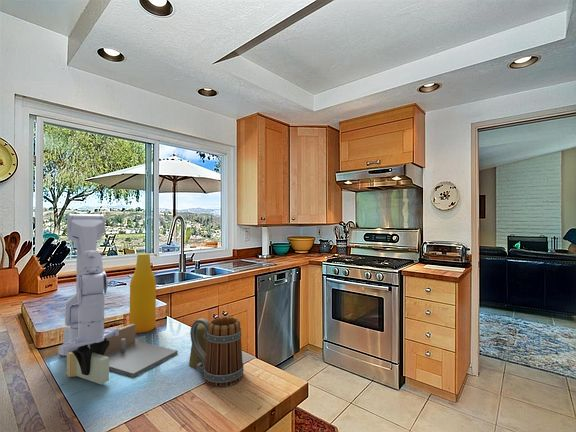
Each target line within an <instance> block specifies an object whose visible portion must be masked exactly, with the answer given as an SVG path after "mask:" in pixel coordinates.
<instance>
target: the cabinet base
mask: <svg viewBox="0 0 576 432" xmlns="http://www.w3.org/2000/svg"><path fill="white" fill-rule="evenodd" d="M135 326H136V324H130V325H129V324H128V325H125V326H122V327H120V328H119V327H118V328H119V335H118V336H112V337H109V338H107V339H106V340H107V341H109V346H108V348H107V349H106V351H105V353H104V356H107V357H109V371H112V372H115V373H118V374H121V375H125V376H128V377H130V378H135V377H137V376H139V375H140V374H143V373H144V372H146V371H148V370H150V369H152V368H153V366H154V367H155V366H158V365H159V364H161V363H163V362H164V361H167V360H168V359H171V358H172V357H174V356H176V355H178V350H177V349H172V348H169V347H164V346H160V345H155V344H152V343H151V344H150V343H147V342H143V341H138V340H136V333H135ZM151 367H152V368H151Z"/></svg>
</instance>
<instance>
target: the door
mask: <svg viewBox="0 0 576 432" xmlns="http://www.w3.org/2000/svg"><path fill="white" fill-rule="evenodd" d="M66 376H67V377H68V378H69V377H70V378H71V377H78V378H82V379H85V380H88V381H90V382H93V383H96V384H99V385H103V384H106V383H108V382H109V381H110V370H109V357H107V356H103V355H100V354H96V353H93V352H92V356H91V361H90V373H89V375H84V374H82V372H81V368H80V365H79V362H78V360H77V358H76V357H75V355H74V354H73V352H72V351H71V352H69V353H68V354H67V356H66Z"/></svg>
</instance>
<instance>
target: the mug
mask: <svg viewBox="0 0 576 432" xmlns="http://www.w3.org/2000/svg"><path fill="white" fill-rule="evenodd" d="M200 324H203V325H204V326H205V329H206V333H205V335H204V336H203V337H204V338H205V339H206V338H207V348H206V353H205V352H204V351H203V349H202V348H201V346H200V345H199V342H198V339H197V326H198V325H200ZM189 336H190V341H191V346H192V345H193V348H194V349H195V351H196V353H197V354H198V355H199V357H200V358H201V360H202V362H200V363H198V364H197V368H196V369H198V371H199V372H203V380H204V382H206V384H208V385H210V386H211V387H217V388H223V387H224V388H225V387H230V386H232V385H235V384H237V383H238V382H239V381H240V380H242V379H243V376H244V367H245V366H244V363H243V347H242V328H241V322H240V319H238V318H237V317H233V316H229V317H228V316H222V317H216V318H213V319H211V320H210V321H209V320H208V319H206V318H202V317H201V318H199V319H196V320H195V321H193V322H192V324H191V326H190V335H189Z"/></svg>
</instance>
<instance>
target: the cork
mask: <svg viewBox="0 0 576 432" xmlns="http://www.w3.org/2000/svg"><path fill="white" fill-rule="evenodd" d="M205 333H206V329H205V326H204V325H203V324H198V326H197V339H198V342H199V345H200V346H201V348H202V349H203V351H204V352H205V353H206V348H207V338H206V339H205V338H204V337H203V336H204V335H205ZM189 353H190V354H189V361H188V366H189V367H190V368H193V369H194V368H195V369H198V368H197V364H198V363H200V362H202V360H201V358H200V357H199V355H198V354H197V353H196V351H195V349H194V348H193V345H192V344H191V348H190V352H189Z"/></svg>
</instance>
